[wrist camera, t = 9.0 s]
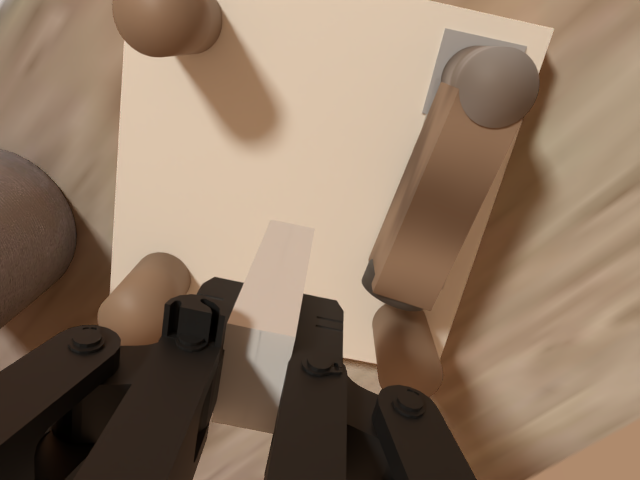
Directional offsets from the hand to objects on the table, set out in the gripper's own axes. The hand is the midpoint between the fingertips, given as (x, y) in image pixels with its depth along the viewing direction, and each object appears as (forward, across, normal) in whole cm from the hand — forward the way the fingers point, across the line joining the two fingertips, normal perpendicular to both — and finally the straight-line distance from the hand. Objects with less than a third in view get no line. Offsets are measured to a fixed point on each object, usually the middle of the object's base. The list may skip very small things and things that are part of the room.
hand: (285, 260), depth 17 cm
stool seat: (+13, 0, 0) cm, 13 cm away
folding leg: (+10, +6, +2) cm, 12 cm away
